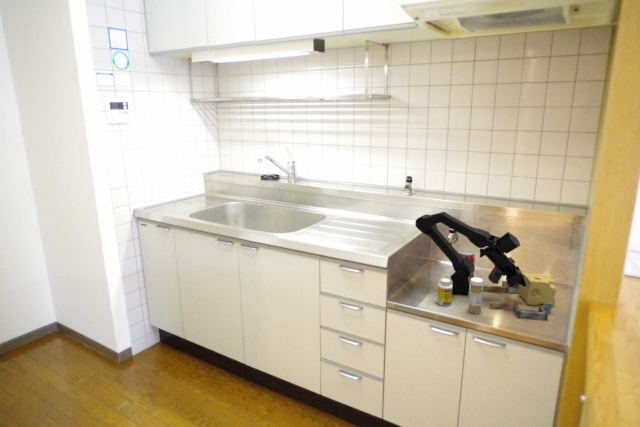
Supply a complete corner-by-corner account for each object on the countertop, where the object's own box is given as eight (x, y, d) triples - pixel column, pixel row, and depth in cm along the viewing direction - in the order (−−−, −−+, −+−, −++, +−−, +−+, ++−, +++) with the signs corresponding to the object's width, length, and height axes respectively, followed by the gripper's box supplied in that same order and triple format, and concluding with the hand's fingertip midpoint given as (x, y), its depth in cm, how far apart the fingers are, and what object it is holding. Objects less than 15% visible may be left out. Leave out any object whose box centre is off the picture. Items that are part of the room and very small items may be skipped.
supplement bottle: (443, 307, 167) (444, 283, 165) (434, 302, 172) (435, 278, 170) (454, 304, 170) (456, 281, 167) (445, 299, 175) (446, 276, 172)
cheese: (554, 307, 166) (558, 283, 164) (525, 304, 167) (529, 281, 165) (543, 295, 176) (547, 273, 174) (517, 293, 177) (520, 271, 175)
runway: (492, 315, 160) (492, 306, 159) (480, 284, 188) (481, 276, 187) (555, 321, 155) (556, 311, 154) (534, 288, 183) (535, 279, 182)
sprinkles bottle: (478, 308, 166) (480, 276, 163) (482, 314, 162) (485, 281, 158) (466, 308, 166) (468, 276, 163) (470, 314, 162) (472, 281, 159)
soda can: (475, 282, 191) (477, 255, 188) (459, 282, 191) (461, 255, 188) (470, 276, 198) (472, 249, 194) (455, 276, 198) (456, 250, 195)
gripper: (479, 262, 180) (504, 288, 181) (485, 279, 163) (513, 308, 163) (500, 246, 177) (526, 272, 177) (509, 261, 159) (538, 290, 159)
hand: (525, 285), depth 169 cm, fingers closed
